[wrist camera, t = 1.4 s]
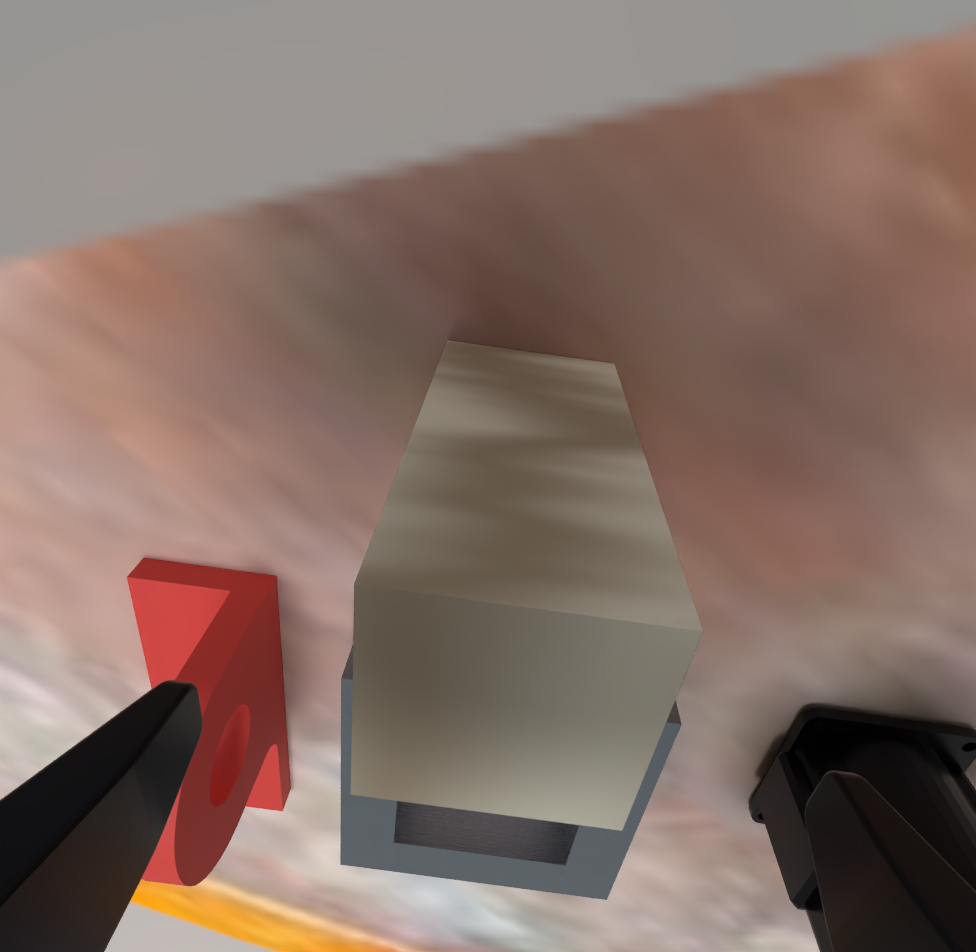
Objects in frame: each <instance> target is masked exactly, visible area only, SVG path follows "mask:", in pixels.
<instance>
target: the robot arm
mask: <svg viewBox="0 0 976 952" xmlns="http://www.w3.org/2000/svg"><path fill="white" fill-rule="evenodd" d="M202 726H203V719H202V713H201V707H200V701H199V695H198V690H197V687H196V686H195V685H194V683H190V682H183V681H176V680H166V681H164V682H161V683H160V684H158V685H157V686H155V687H154V688H153V689H151V690H150V691H149V692H147V693H146V694H145V695H143V696H142V697H140V698H139V699H138V700H136V701H135V702H134V703H132V704H131V705H130V706H128V707H127V708H125V709H124V710H123V711H121V712H120V713H119V714H117V715H116V716H114V717H113V718H112V719H110V720H109V721H108V722H106V723H105V724H104V725H102V726H101V727H99V728H98V729H97V730H95V731H94V732H93V733H91V734H90V735H89V736H87V737H86V738H84V739H83V740H82V741H80V742H79V743H78V744H76V745H75V746H74V747H72V748H71V749H69V750H68V751H67V752H65V753H64V754H63V755H61V756H60V757H58V758H57V759H56V760H54V761H53V762H52V763H50V764H49V765H48V766H46V767H45V768H43V769H42V770H41V771H39V772H38V773H37V774H35V775H34V776H33V777H31V778H30V779H28V780H27V781H26V782H24V783H23V784H22V785H20V786H19V787H18V788H16V789H15V790H13V791H12V792H11V793H9V794H8V795H7V796H5V797H4V798H2V799H1V800H0V952H104V951H105V949H106V947H107V945H108V943H109V941H110V939H111V937H112V935H113V933H114V931H115V930H116V928H117V926H118V924H119V922H120V920H121V918H122V916H123V914H124V912H125V910H126V908H127V906H128V904H129V902H130V900H131V898H132V896H133V894H134V892H135V890H136V888H137V886H138V884H139V882H140V880H141V878H142V876H143V874H144V872H145V871H146V869H147V867H148V864H149V862H150V860H151V858H152V856H153V854H154V852H155V850H156V848H157V845H158V843H159V840H160V838H161V836H162V833H163V831H164V828H165V826H166V823H167V821H168V818H169V816H170V813H171V810H172V808H173V805H174V803H175V800H176V798H177V795H178V792H179V790H180V787H181V785H182V782H183V780H184V777H185V775H186V772H187V769H188V767H189V764H190V762H191V759H192V757H193V754H194V751H195V749H196V746H197V744H198V741H199V738H200V735H201V732H202ZM975 759H976V731H975V730H973V729H970V728H963V727H955V726H948V725H940V724H933V723H926V722H918V721H911V720H904V719H896V718H889V717H881V716H874V715H867V714H859V713H852V712H845V711H837V710H830V709H822V708H811V709H808V710H806V711H804V712H803V713H802V714H801V715H800V716H799V718H798V720H797V722H796V723H795V725H794V727H793V729H792V730H791V732H790V734H789V736H788V737H787V739H786V741H785V743H784V744H783V746H782V748H781V750H780V752H779V753H778V755H777V757H776V759H775V760H774V762H773V764H772V766H771V767H770V769H769V771H768V773H767V774H766V776H765V778H764V780H763V782H762V783H761V785H760V787H759V789H758V790H757V792H756V794H755V796H754V797H753V799H752V801H751V803H750V804H749V810H750V814H751V817H752V819H753V820H754V821H755V822H758V823H763V824H765V825H766V828H767V831H768V834H769V837H770V840H771V844H772V847H773V850H774V853H775V856H776V859H777V862H778V865H779V868H780V871H781V874H782V877H783V880H784V883H785V886H786V889H787V892H788V895H789V898H790V901H791V902H792V903H793V905H794V906H795V907H796V908H797V909H800V910H806V912H807V915H808V918H809V921H810V924H811V927H812V930H813V932H814V935H815V938H816V941H817V944H818V947H819V950H820V952H976V790H975V788H974V787H973V785H972V784H971V782H970V781H969V779H968V778H967V776H966V775H965V773H964V772H965V771H966V770H967V768H968V767H969V766H970V765H971V763H972V762H973V761H974V760H975Z"/></svg>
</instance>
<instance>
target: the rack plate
mask: <svg viewBox="0 0 976 952" xmlns="http://www.w3.org/2000/svg"><path fill="white" fill-rule="evenodd" d="M352 692H353V646H352V649H351V652H350V655H349V658H348V661H347V663H346V666H345V669H344V672H343V675H342V678H341V865H349V866H356V867H364V868H371V869H379V870H387V871H394V872H402V873H409V874H417V875H424V876H432V877H439V878H447V879H454V880H462V881H469V882H477V883H484V884H492V885H500V886H507V887H515V888H522V889H530V890H537V891H545V892H552V893H560V894H567V895H575V896H582V897H590V898H597V899H605V900H607V898H608V895H609V893H610V891H611V888H612V886H613V884H614V881H615V879H616V877H617V874H618V872H619V870H620V867H621V865H622V863H623V860H624V858H625V855H626V853H627V851H628V848H629V846H630V844H631V841H632V839H633V837H634V834H635V832H636V830H637V827H638V825H639V823H640V820H641V818H642V816H643V813H644V811H645V809H646V806H647V804H648V801H649V799H650V797H651V794H652V792H653V790H654V787H655V785H656V783H657V780H658V778H659V776H660V773H661V771H662V769H663V766H664V764H665V762H666V759H667V757H668V755H669V752H670V750H671V748H672V745H673V743H674V740H675V738H676V736H677V733H678V731H679V729H680V726H681V721H680V717H679V713H678V709H677V704H676V700H675V702H674V704H673V707H672V709H671V712H670V714H669V717H668V719H667V721H666V724H665V726H664V729H663V731H662V734H661V736H660V739H659V741H658V744H657V746H656V749H655V751H654V753H653V756H652V758H651V761H650V763H649V766H648V768H647V771H646V773H645V776H644V778H643V781H642V783H641V785H640V788H639V790H638V793H637V795H636V798H635V800H634V803H633V805H632V808H631V810H630V813H629V815H628V817H627V820H626V822H625V825H624V827H623V830H622V831H620V830H612V829H605V828H597V827H590V826H582V825H575V824H567V823H560V822H552V821H545V820H537V819H530V818H522V817H515V816H507V815H500V814H492V813H485V812H477V811H470V810H462V809H455V808H447V807H440V806H432V805H425V804H417V803H410V802H402V801H395V800H387V799H380V798H372V797H365V796H357V795H351V748H352Z"/></svg>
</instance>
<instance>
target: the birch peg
mask: <svg viewBox="0 0 976 952" xmlns="http://www.w3.org/2000/svg"><path fill="white" fill-rule="evenodd" d="M702 633H703V629H702V626H701V623H700V620H699V617H698V614H697V611H696V608H695V605H694V602H693V599H692V596H691V593H690V590H689V587H688V584H687V581H686V578H685V575H684V572H683V569H682V566H681V563H680V560H679V557H678V554H677V551H676V548H675V545H674V542H673V539H672V536H671V533H670V530H669V527H668V524H667V521H666V518H665V515H664V512H663V509H662V506H661V503H660V500H659V497H658V494H657V491H656V488H655V485H654V482H653V479H652V476H651V473H650V470H649V467H648V464H647V461H646V458H645V455H644V452H643V449H642V446H641V443H640V440H639V437H638V434H637V431H636V428H635V425H634V422H633V419H632V416H631V413H630V410H629V407H628V404H627V401H626V398H625V395H624V392H623V388H622V385H621V382H620V379H619V376H618V373H617V370H616V367H615V364H614V363H607V362H600V361H593V360H586V359H578V358H571V357H564V356H557V355H550V354H543V353H535V352H528V351H521V350H514V349H507V348H500V347H492V346H485V345H478V344H471V343H464V342H457V341H449V340H447V342H446V345H445V348H444V350H443V353H442V355H441V358H440V361H439V363H438V366H437V369H436V371H435V374H434V376H433V379H432V382H431V384H430V387H429V390H428V392H427V395H426V397H425V400H424V403H423V405H422V408H421V411H420V413H419V416H418V418H417V421H416V424H415V426H414V429H413V431H412V434H411V437H410V439H409V442H408V445H407V447H406V450H405V452H404V455H403V458H402V460H401V463H400V466H399V468H398V471H397V473H396V476H395V479H394V481H393V484H392V487H391V489H390V492H389V494H388V497H387V500H386V502H385V505H384V508H383V510H382V513H381V515H380V518H379V521H378V523H377V526H376V529H375V531H374V534H373V536H372V539H371V542H370V544H369V547H368V550H367V552H366V555H365V557H364V560H363V563H362V565H361V568H360V571H359V573H358V576H357V578H356V581H355V584H354V635H353V692H352V748H351V795H357V796H365V797H372V798H380V799H387V800H395V801H402V802H410V803H417V804H425V805H432V806H440V807H447V808H455V809H462V810H470V811H477V812H485V813H492V814H500V815H507V816H515V817H522V818H530V819H537V820H545V821H552V822H560V823H567V824H575V825H582V826H590V827H597V828H605V829H612V830H620V831H622V830H623V827H624V825H625V822H626V820H627V817H628V815H629V813H630V810H631V808H632V805H633V803H634V800H635V798H636V795H637V793H638V790H639V788H640V785H641V783H642V781H643V778H644V776H645V773H646V771H647V768H648V766H649V763H650V761H651V758H652V756H653V753H654V751H655V749H656V746H657V744H658V741H659V739H660V736H661V734H662V731H663V729H664V726H665V724H666V721H667V719H668V717H669V714H670V712H671V709H672V707H673V704H674V702H675V699H676V697H677V694H678V692H679V689H680V687H681V684H682V682H683V680H684V677H685V675H686V672H687V670H688V667H689V665H690V662H691V660H692V657H693V655H694V652H695V650H696V648H697V645H698V643H699V640H700V638H701V635H702Z"/></svg>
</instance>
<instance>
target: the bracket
mask: <svg viewBox="0 0 976 952" xmlns="http://www.w3.org/2000/svg"><path fill="white" fill-rule="evenodd" d="M127 580H128V584H129V589H130V593H131V598H132V602H133V607H134V611H135V616H136V620H137V625H138V629H139V634H140V638H141V643H142V647H143V652H144V656H145V661H146V665H147V670H148V674H149V679H150V683H151V688H152V689H153V688H154V687H155V686H157V685H158V684H160V683H161V682H164V681H166V680H176V681H183V682H190V683H194V685H195V686H196V687H197V690H198V695H199V701H200V707H201V713H202V719H203V726H202V732H201V735H200V738H199V741H198V744H197V746H196V749H195V751H194V754H193V757H192V759H191V762H190V764H189V767H188V769H187V772H186V775H185V777H184V780H183V782H182V785H181V787H180V790H179V792H178V795H177V798H176V800H175V803H174V805H173V808H172V810H171V813H170V816H169V818H168V821H167V823H166V826H165V828H164V831H163V833H162V836H161V838H160V840H159V843H158V845H157V848H156V850H155V852H154V854H153V856H152V858H151V860H150V862H149V864H148V867H147V869H146V871H145V872H144V874H143V876H142V878H141V879H143V880H145V881H152V882H160V883H168V884H176V885H183V886H194V885H197V884H198V883H200V882H201V881H202V880H203V879H205V878H206V877H207V875H208V874H209V873H210V872H211V871H212V870H213V868H214V867H215V865H216V864H217V862H218V861H219V859H220V858H221V856H222V855H223V853H224V851H225V849H226V847H227V846H228V844H229V842H230V840H231V838H232V836H233V834H234V831H235V829H236V827H237V825H238V822H239V820H240V818H241V815H242V813H243V810H244V808H245V806H247V807H255V808H263V809H270V810H278V811H283V809H284V806H285V803H286V800H287V798H288V795H289V792H290V789H291V787H290V772H289V757H288V742H287V727H286V712H285V697H284V681H283V666H282V651H281V636H280V621H279V606H278V591H277V576H274V575H267V574H259V573H252V572H244V571H237V570H230V569H222V568H215V567H207V566H200V565H193V564H185V563H178V562H170V561H163V560H155V559H148V558H143V559H142V560H141V562H140V563H139V564H138V565H137V566H136V567H135V568H134V570H133V571H132V572H131V573H130V574H129V575H128V576H127Z"/></svg>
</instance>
